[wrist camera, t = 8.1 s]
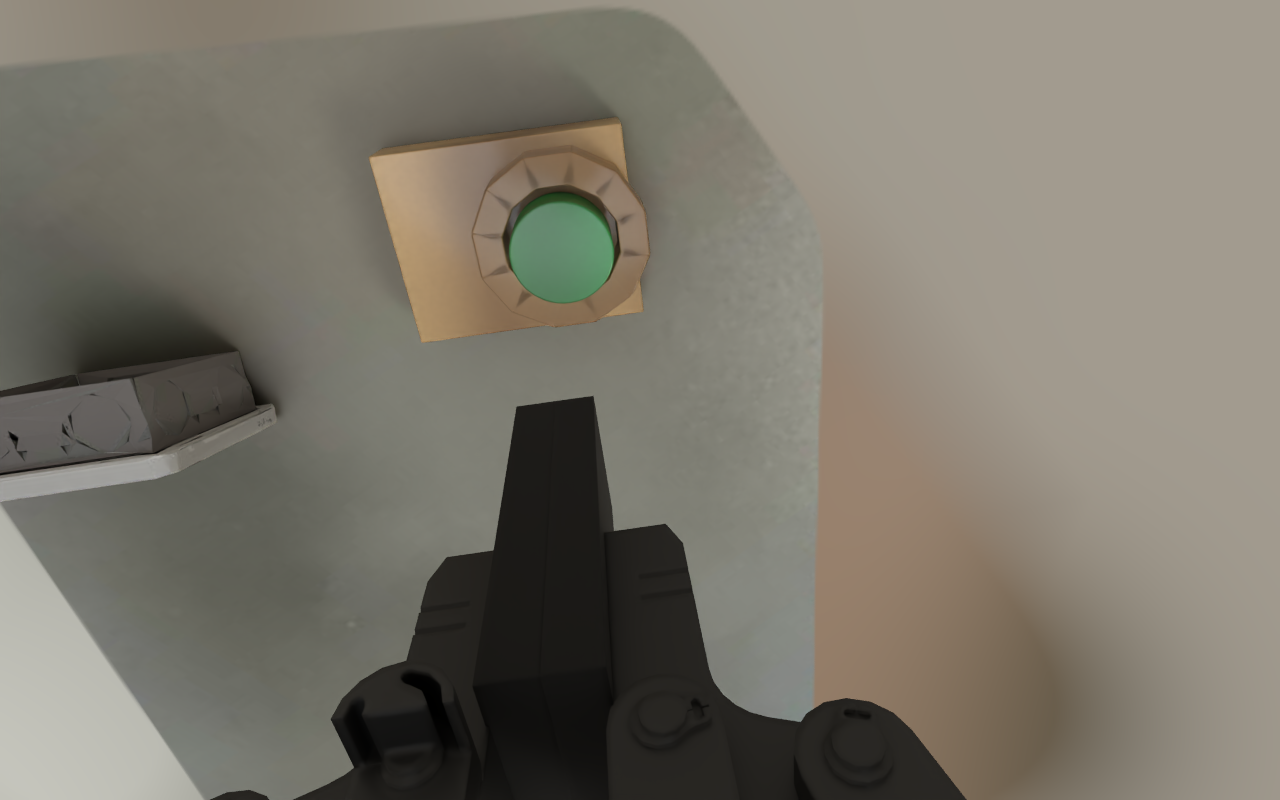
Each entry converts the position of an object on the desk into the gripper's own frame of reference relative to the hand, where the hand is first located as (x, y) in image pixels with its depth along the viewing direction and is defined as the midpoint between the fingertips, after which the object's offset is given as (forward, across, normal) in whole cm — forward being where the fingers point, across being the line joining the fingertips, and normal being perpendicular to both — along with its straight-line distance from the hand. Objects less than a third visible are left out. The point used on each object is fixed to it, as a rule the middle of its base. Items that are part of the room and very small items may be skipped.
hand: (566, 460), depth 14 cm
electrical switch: (+20, -20, -5) cm, 29 cm away
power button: (+16, 0, 0) cm, 16 cm away
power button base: (+20, -2, 0) cm, 20 cm away
